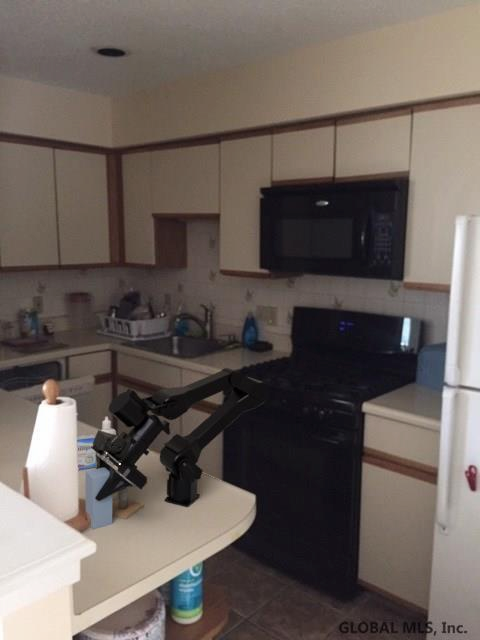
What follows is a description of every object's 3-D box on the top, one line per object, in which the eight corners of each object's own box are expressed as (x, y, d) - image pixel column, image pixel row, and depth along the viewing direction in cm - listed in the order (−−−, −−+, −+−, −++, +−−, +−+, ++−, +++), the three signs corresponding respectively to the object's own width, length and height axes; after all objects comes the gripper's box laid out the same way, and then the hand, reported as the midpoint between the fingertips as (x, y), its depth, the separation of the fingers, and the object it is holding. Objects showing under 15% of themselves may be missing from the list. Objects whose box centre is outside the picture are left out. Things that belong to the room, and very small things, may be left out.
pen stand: (144, 506, 134) (144, 486, 133) (126, 519, 127) (126, 498, 127) (119, 499, 137) (119, 479, 136) (101, 511, 130) (101, 491, 130)
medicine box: (66, 472, 151) (66, 441, 150) (63, 466, 155) (63, 435, 154) (96, 468, 155) (96, 437, 153) (92, 462, 158) (92, 432, 157)
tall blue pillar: (104, 515, 129) (104, 467, 127) (112, 523, 125) (112, 474, 124) (85, 520, 126) (85, 471, 125) (92, 529, 123) (92, 478, 121)
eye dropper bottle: (118, 458, 161) (118, 418, 159) (97, 461, 159) (97, 420, 157) (114, 453, 165) (114, 413, 163) (95, 455, 163) (95, 415, 161)
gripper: (99, 406, 132) (52, 461, 127) (134, 430, 117) (82, 493, 112) (131, 433, 138) (86, 486, 133) (167, 459, 123) (119, 520, 118)
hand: (92, 495), depth 124 cm, fingers closed on tall blue pillar, 4 cm apart
